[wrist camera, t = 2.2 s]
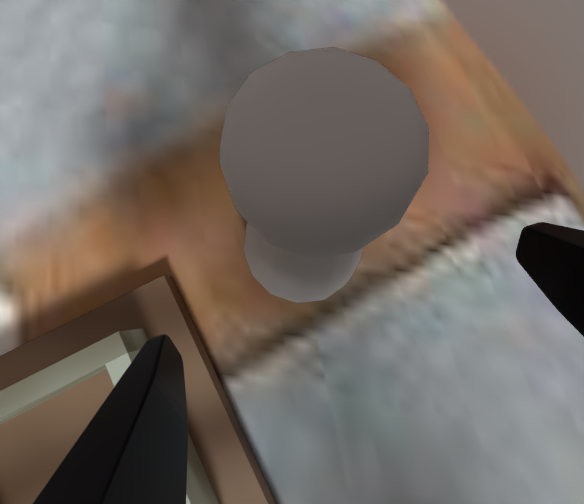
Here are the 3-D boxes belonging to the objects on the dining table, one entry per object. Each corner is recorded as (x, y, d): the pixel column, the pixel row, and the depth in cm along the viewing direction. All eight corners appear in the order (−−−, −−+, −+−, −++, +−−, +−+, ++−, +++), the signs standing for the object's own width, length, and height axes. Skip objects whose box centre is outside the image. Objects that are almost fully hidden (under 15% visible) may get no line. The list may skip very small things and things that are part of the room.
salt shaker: (343, 198, 19) (457, -25, 6) (358, 296, 18) (529, 262, 5) (243, 209, 19) (158, 0, 6) (253, 309, 18) (175, 304, 5)
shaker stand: (287, 530, 16) (288, 593, 13) (11, 696, 15) (-80, 822, 11) (171, 277, 18) (143, 269, 15) (-80, 402, 17) (-181, 427, 13)
